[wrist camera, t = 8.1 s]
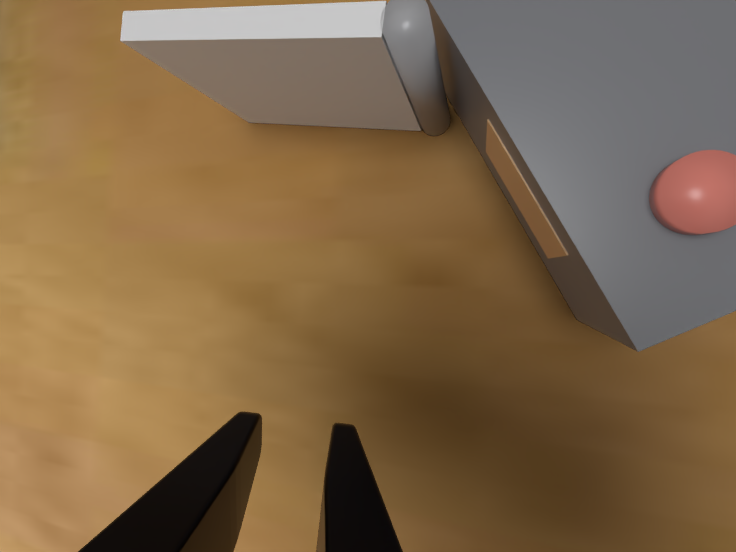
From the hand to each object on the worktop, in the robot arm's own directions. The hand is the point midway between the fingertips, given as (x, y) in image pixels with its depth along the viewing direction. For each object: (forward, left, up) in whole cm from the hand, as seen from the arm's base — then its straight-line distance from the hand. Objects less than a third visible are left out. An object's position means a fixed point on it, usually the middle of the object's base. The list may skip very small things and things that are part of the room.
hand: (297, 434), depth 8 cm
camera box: (+11, -1, -12) cm, 16 cm away
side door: (+7, +9, -12) cm, 17 cm away
